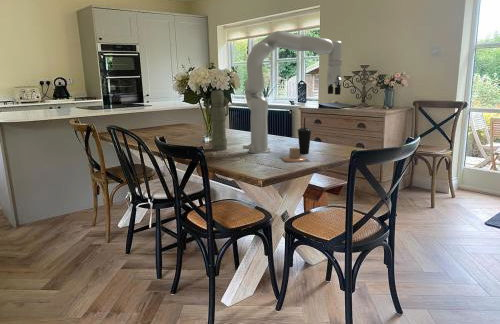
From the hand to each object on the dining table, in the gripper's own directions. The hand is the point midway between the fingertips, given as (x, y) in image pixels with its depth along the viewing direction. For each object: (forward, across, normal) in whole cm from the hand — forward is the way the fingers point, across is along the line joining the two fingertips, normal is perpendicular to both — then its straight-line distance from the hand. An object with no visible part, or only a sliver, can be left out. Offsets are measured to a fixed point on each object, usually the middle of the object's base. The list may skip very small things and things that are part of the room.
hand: (333, 94), depth 219 cm
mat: (+31, +27, -33) cm, 53 cm away
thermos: (+31, -15, -66) cm, 75 cm away
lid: (+31, +27, -33) cm, 53 cm away
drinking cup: (+31, +14, -23) cm, 41 cm away
